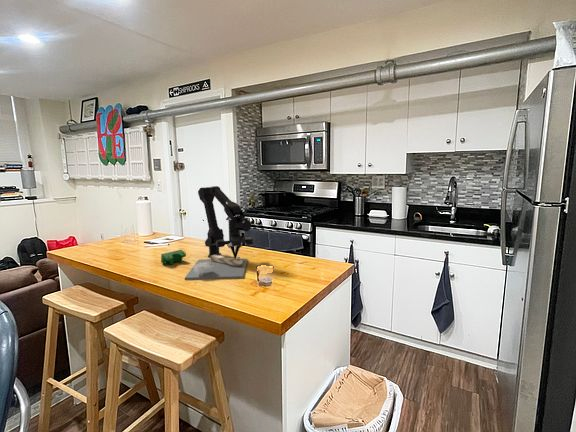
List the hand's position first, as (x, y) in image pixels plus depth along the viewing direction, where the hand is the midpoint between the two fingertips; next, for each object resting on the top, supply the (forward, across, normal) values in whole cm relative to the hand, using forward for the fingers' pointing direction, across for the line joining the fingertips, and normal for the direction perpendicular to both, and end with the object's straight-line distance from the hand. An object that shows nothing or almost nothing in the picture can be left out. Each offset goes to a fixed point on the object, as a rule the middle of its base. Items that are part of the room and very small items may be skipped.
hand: (235, 257), depth 167 cm
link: (+1, -5, -4) cm, 7 cm away
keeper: (+2, -17, -17) cm, 24 cm away
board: (+2, -10, -10) cm, 14 cm away
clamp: (+3, -31, +9) cm, 32 cm away
